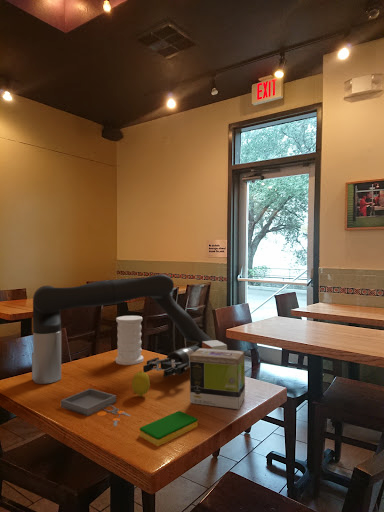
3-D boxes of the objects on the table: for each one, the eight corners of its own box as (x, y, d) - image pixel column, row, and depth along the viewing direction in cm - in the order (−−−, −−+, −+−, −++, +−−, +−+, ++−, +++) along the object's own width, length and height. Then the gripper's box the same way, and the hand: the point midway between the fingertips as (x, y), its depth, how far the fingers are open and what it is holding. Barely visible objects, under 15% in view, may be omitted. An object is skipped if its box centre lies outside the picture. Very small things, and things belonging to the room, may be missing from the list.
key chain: (90, 412, 103) (90, 409, 103) (113, 405, 108) (113, 402, 108) (113, 428, 94) (113, 425, 94) (137, 420, 99) (137, 416, 99)
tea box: (245, 397, 113) (245, 350, 113) (238, 411, 104) (238, 359, 104) (199, 391, 118) (199, 346, 118) (189, 403, 109) (189, 354, 109)
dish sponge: (138, 437, 89) (138, 427, 89) (179, 419, 99) (179, 410, 99) (157, 448, 85) (157, 437, 85) (198, 427, 95) (198, 418, 94)
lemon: (151, 393, 117) (151, 368, 117) (147, 400, 111) (147, 374, 111) (134, 392, 117) (134, 367, 117) (129, 399, 112) (129, 373, 112)
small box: (201, 377, 132) (201, 341, 132) (217, 374, 135) (217, 339, 135) (211, 384, 125) (211, 346, 125) (227, 381, 127) (227, 344, 127)
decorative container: (111, 364, 148) (111, 319, 148) (121, 356, 159) (121, 315, 159) (138, 365, 146) (138, 320, 146) (146, 357, 157) (146, 315, 157)
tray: (60, 407, 106) (60, 400, 106) (90, 394, 116) (90, 388, 116) (87, 416, 100) (87, 408, 100) (116, 402, 110) (116, 395, 110)
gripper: (165, 346, 137) (137, 356, 124) (198, 352, 130) (171, 363, 116) (165, 366, 137) (137, 378, 124) (197, 373, 130) (171, 387, 116)
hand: (154, 371), depth 120 cm, fingers open, 8 cm apart
